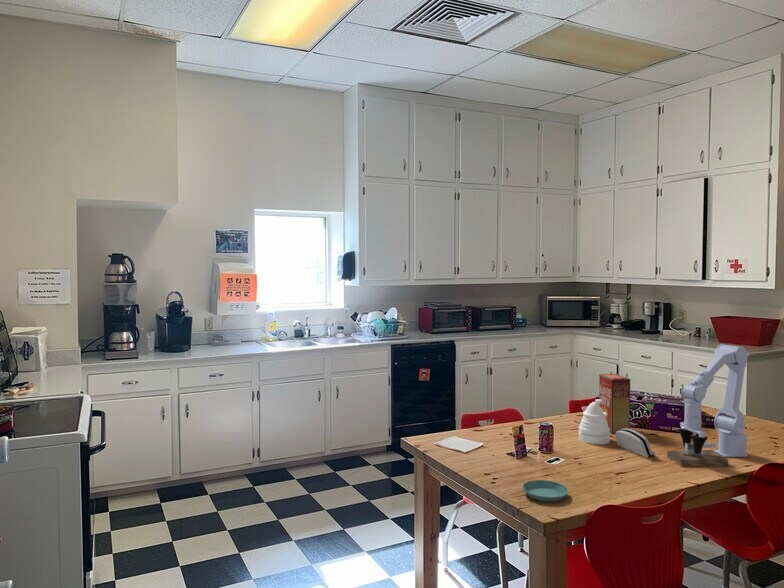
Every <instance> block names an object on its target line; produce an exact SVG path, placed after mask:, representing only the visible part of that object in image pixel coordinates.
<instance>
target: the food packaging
mask: <svg viewBox="0 0 784 588" xmlns="http://www.w3.org/2000/svg"><path fill="white" fill-rule="evenodd" d="M598 378H599V382H598V384H599V386H598V387H599V388H598V390H599V392H598V397H599V399H600V400H602V401H601V403H600V404H599V405H600V407H601V408H602V410H603V412H605V413H606V414H607V416H606V417H605V418H606V420H607V424H608V427H609V429H610V434H612V435H616V434H615V433H616V432H617V431H620V429H624V428H626V429H631V413H630V412H631V378H628V377H626V376H622V375H619V374H618V373H602V374H601V373H600V374H599V377H598Z"/></svg>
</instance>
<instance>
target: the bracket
mask: <svg viewBox="0 0 784 588" xmlns="http://www.w3.org/2000/svg"><path fill="white" fill-rule="evenodd" d="M716 446H717V445H716V443H715V442H705V443H704V445H703V447H702V449H712V448H717V447H716ZM684 450H685V456H700V454H695V453H694V448H693V442H691V443H685V447H684Z"/></svg>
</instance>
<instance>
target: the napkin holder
mask: <svg viewBox="0 0 784 588" xmlns="http://www.w3.org/2000/svg"><path fill="white" fill-rule="evenodd" d="M614 435H615V439H616V443H617V447H619V446H621V447H620V448H622V447H623V448H622V449H624V448H625V450H626V449H628V450H627V451H629V450H630V451H629V452H631V451H633V452H632V453H634V452H635V453H634V454H636V453H637V454H636V455H638V454H640V455H639V456H641V455H642V456H641V457H643V456H645V457H647V456H648V457H649V456H652V455H655V456H656V453H655V451H652V448H651V445H650V443H649V439H648V438H647V437H645V436H644V435H643V434H641V433H640V432H639V431H636V430H634V429H631V428H630V429H626V428H624V429H620V431H617V432H616V433H615V434H614ZM645 457H644V458H645ZM648 457H647V458H648Z"/></svg>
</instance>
